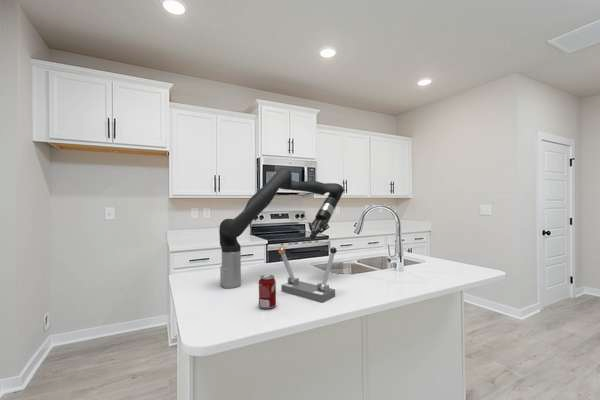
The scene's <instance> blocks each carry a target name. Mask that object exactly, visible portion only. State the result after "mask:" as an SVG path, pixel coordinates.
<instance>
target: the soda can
mask: <svg viewBox="0 0 600 400" xmlns="http://www.w3.org/2000/svg"><path fill="white" fill-rule="evenodd" d="M276 283H277V281H276V279H275V276H274V275H273V274H264V275H261V276H260V278H259V280H258V306H259V308H261V309H265V310H270V309H273V308H274V307H276V306H277V284H276Z"/></svg>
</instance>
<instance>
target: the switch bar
mask: <svg viewBox="0 0 600 400" xmlns="http://www.w3.org/2000/svg"><path fill="white" fill-rule="evenodd" d="M295 278H296V277H295ZM320 284H322V282H318V283H316V284H313V283H309V282H305V281H301V280H300V278H299V277H297V278H296V279H294V283H291V282H290V277H289V276H288V277H287V282H286V283H283V284H281V292H282V293H286V294H289V295H292V296H297V297H300V298H304V299H308V300H311V301H314V302H318V303H322V304H323V303H325V302H326V301H329V300H332V299H333V298H334V297H336V289H335V288H331V287H330V284H326V286H324V288H325V291H323V290H320V289H319V286H320Z"/></svg>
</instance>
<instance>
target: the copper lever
mask: <svg viewBox="0 0 600 400" xmlns="http://www.w3.org/2000/svg"><path fill="white" fill-rule="evenodd" d="M277 251H278V254H280V256H281V259H282V262H283V264H284V266H285V268H286V271H287V273H288V277H290V282H291V283H294V279H296V277H295V275H294V273H293V270H292V267H291V265H290V262H289V260H288V258H287V255H286V250H285V248H284V247H279V248H278V250H277Z"/></svg>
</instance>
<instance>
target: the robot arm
mask: <svg viewBox="0 0 600 400" xmlns="http://www.w3.org/2000/svg"><path fill="white" fill-rule="evenodd" d="M292 178H293V175H292V171H291V170H290V169H289V168H285V167H284V168H280V169H278V170H277V171H276V172H275V173H274V175H273V176H271V178H270V179H269V181H267V182H266V183H265V184H264V185H263V186H262V187H261V188H259V190H258V191H256V193H254V194H253V195H252V196H251V197H250V198H249V199H248V201H247V203H246V205H245V208H244V209H243V210H242V212H240V213H239V214H238V215H237V216H236V217H235V218H225V219H223V220H222V221H221V222H220V224H219V228H218V229H219V231H218V233H219V246H220V248H221V266H220V270H219V271H220V272H219V273H220V275H219V276H220V277H219V278H220V283H219V284H220V286H221V287H222V288H223V289H233V288H238V287H240V286H241V285H242V271H241V270H242V266H241V264H242V261H241V257H242V256H241V255H242V254H241V250H242V249H241V244H240V243H239V242H238V237H240V236H242V234H243V233H244V232H245V230H246V229H247V228H248V226H249V225H250V224H251V223H252V222H253V221H254V220H255V219H256V218H257V217H258V216H259V215H260V213H262V212H263V211H264V210H265V209H266V208H267V207H268V206H269V205H270V204H271V202H272V201H273V199H274V197H275V196H276V194H277V192H278V191H279V190H287V191H299V192H307V193H312V194H316V195H318V196H319V195H320V196H324V195H325V194H328V196H327V197H326V198H325V200H324V201H323V203H322V205H320V208H318V211H317V212H316V215H315V218H314V220H313V221H312V222H308V223H307V224H308V228H309V231H310V232H311V233H310V234H309V238H310V240H314V239H316V237H317V236H318V235H319V234H323V233H324V232H325V231H327V230H328V229H330V226H329V224H328V223H329V222H330V220H331V218H332V215H333V214H334V211H335V209H336V207H337V204H338V203H339V202H340V200H341V198H342V195H343V194H344V189H345V188H344V187H343V186H342V185H341V184H339V183H332V182H328V183H327V182H325V183H324V182H321V181H316V180H305V181H295V180H292Z"/></svg>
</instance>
